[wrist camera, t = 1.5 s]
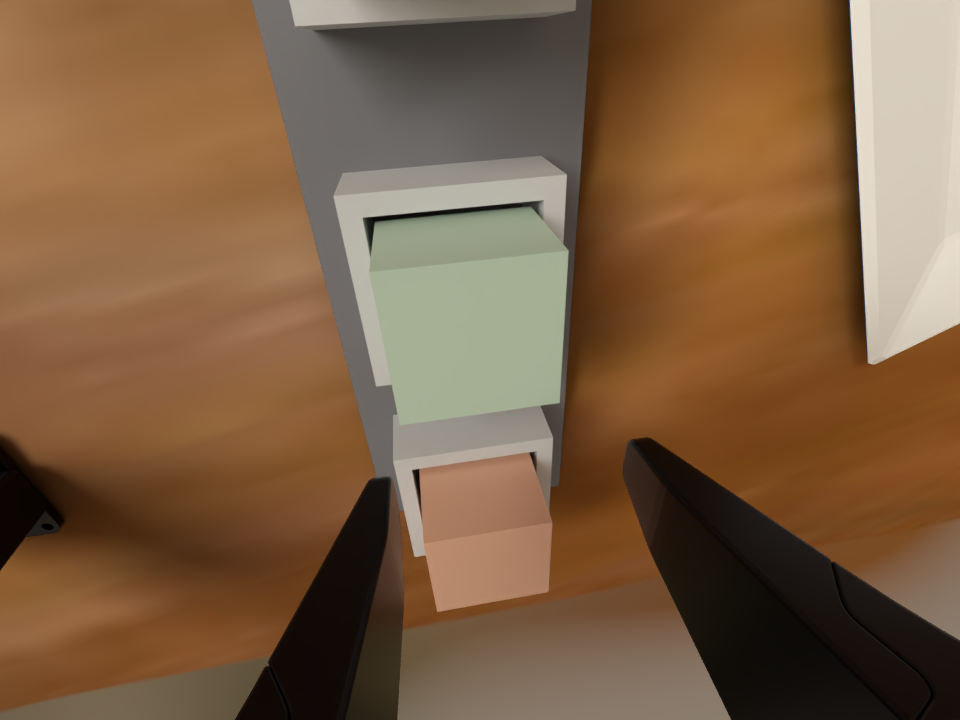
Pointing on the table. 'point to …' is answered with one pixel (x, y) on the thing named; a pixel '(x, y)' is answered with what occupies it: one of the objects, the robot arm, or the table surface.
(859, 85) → the plate
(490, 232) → the sage button
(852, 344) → the table surface
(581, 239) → the table surface
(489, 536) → the terracotta button
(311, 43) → the button panel
